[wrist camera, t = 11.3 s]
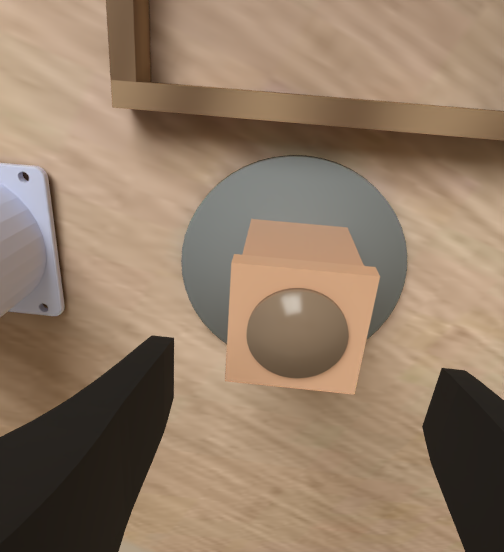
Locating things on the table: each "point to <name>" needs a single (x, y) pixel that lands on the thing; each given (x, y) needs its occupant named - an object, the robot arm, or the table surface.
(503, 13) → the table surface
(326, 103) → the cold frame
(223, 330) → the mat
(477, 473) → the robot arm
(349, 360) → the orange block with dome
